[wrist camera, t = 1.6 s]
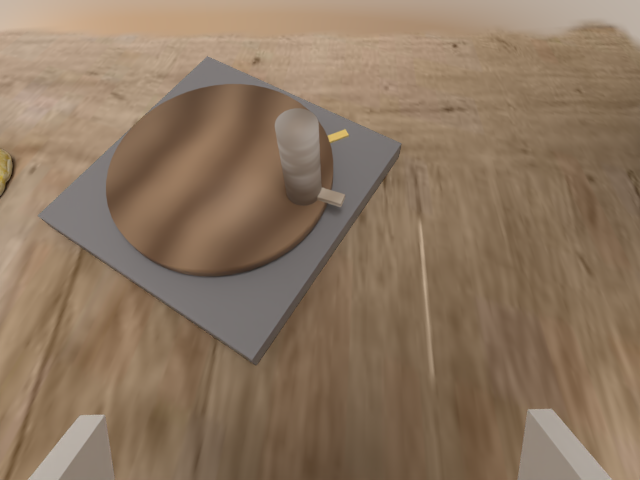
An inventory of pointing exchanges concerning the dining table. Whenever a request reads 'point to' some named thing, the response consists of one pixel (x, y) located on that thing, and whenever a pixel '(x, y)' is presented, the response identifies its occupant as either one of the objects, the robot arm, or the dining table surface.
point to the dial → (221, 179)
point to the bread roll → (5, 169)
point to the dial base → (247, 287)
